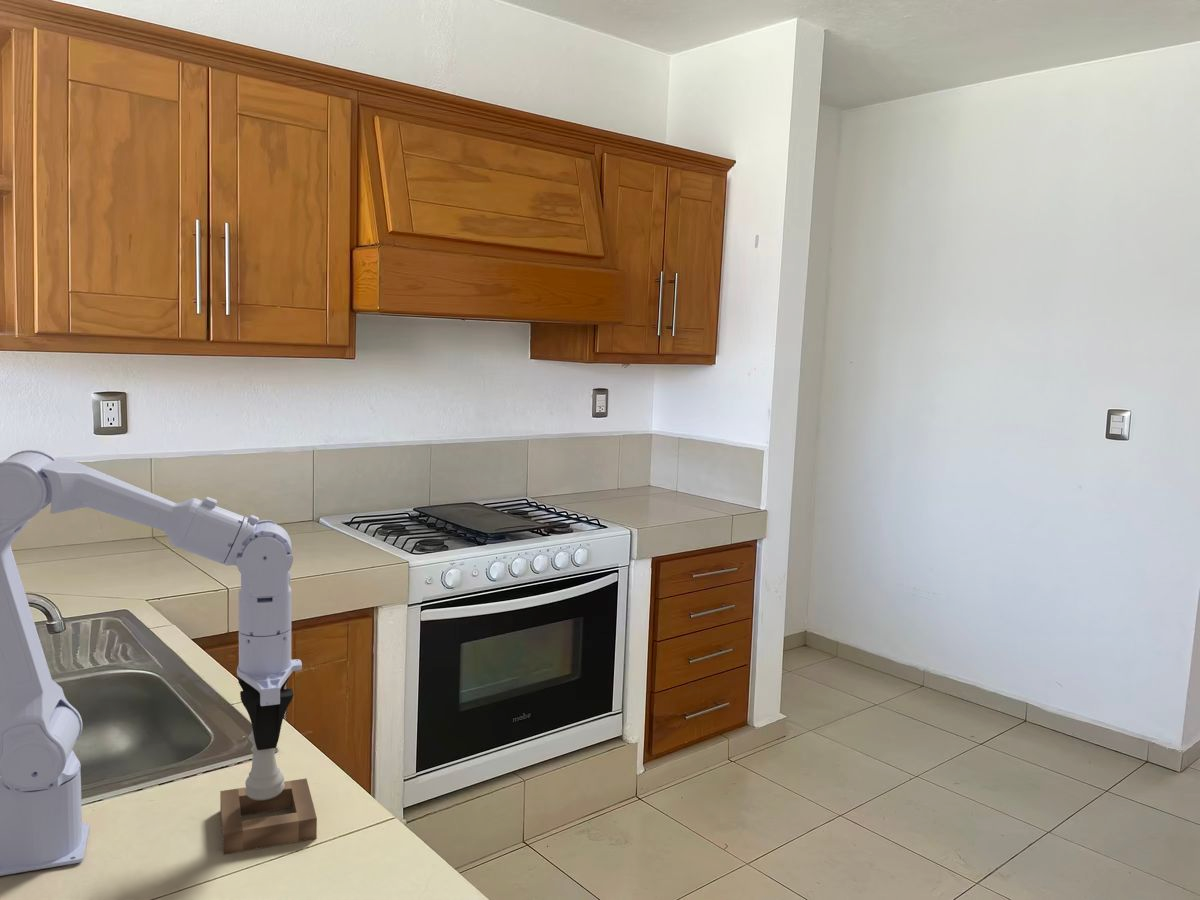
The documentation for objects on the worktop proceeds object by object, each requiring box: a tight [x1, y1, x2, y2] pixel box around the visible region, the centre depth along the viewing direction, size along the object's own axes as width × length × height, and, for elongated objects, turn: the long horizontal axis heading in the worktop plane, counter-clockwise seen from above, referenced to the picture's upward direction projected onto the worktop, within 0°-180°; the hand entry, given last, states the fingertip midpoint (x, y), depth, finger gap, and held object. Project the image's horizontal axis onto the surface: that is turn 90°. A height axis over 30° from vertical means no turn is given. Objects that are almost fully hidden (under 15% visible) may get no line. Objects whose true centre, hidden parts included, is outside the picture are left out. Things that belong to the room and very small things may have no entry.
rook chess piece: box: [245, 728, 285, 800], centre depth 108 cm, size 4×4×8 cm
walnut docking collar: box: [219, 778, 318, 855], centre depth 109 cm, size 10×10×2 cm
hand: (265, 740), depth 108 cm, fingers closed on rook chess piece, 3 cm apart
